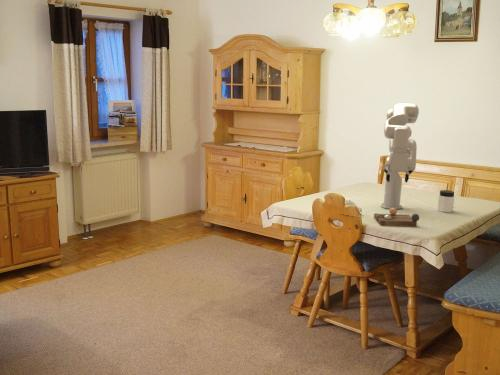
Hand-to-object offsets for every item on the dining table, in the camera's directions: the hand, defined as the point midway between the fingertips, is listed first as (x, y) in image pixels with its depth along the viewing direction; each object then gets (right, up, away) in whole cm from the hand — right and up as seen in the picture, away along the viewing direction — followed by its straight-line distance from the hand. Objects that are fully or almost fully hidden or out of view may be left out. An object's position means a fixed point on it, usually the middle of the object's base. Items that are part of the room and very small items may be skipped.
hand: (397, 181), depth 305 cm
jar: (+37, -17, +33) cm, 52 cm away
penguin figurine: (-22, -18, +17) cm, 33 cm away
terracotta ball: (0, -16, +6) cm, 17 cm away
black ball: (+8, -19, -6) cm, 22 cm away
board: (-1, -22, +1) cm, 22 cm away
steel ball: (-5, -20, 0) cm, 21 cm away
